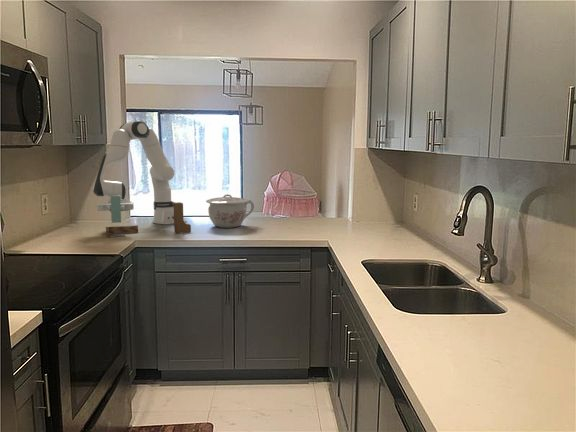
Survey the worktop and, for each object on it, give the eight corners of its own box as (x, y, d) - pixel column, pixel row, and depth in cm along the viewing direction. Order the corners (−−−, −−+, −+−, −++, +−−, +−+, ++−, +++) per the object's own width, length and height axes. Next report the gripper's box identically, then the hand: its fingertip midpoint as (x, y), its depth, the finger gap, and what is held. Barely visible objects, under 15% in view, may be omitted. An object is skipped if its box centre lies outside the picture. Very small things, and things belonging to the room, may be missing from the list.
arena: (137, 231, 292) (137, 225, 291) (139, 235, 280) (139, 229, 279) (106, 233, 285) (105, 227, 284) (106, 237, 273) (106, 230, 272)
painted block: (120, 221, 282) (119, 195, 280) (121, 222, 278) (120, 196, 275) (111, 221, 280) (110, 195, 278) (111, 222, 276) (110, 196, 273)
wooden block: (188, 230, 296) (187, 201, 293) (191, 232, 292) (190, 202, 289) (174, 232, 291) (173, 202, 288) (176, 233, 287) (175, 203, 285)
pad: (124, 233, 285) (124, 233, 285) (125, 236, 278) (125, 235, 278) (109, 234, 283) (109, 234, 282) (110, 237, 275) (110, 236, 275)
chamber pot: (198, 228, 304) (198, 195, 301) (217, 221, 330) (216, 191, 327) (240, 231, 296) (239, 197, 293) (255, 224, 322) (255, 193, 319)
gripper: (95, 200, 285) (96, 203, 273) (132, 199, 293) (134, 202, 280) (96, 211, 286) (96, 214, 274) (132, 209, 294) (134, 213, 281)
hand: (115, 208), depth 277 cm, fingers closed on painted block, 5 cm apart
